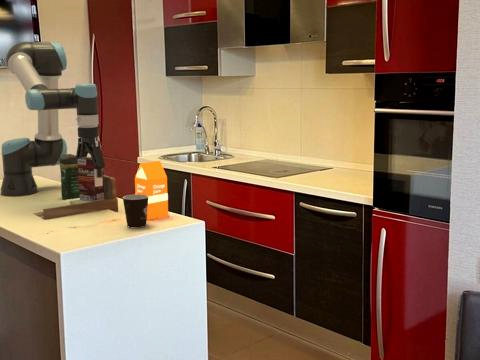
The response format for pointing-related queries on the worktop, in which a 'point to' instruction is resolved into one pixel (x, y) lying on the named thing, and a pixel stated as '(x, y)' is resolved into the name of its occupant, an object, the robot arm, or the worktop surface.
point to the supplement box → (88, 181)
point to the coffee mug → (136, 209)
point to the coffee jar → (69, 177)
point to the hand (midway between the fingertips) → (90, 183)
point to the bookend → (78, 202)
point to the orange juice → (153, 188)
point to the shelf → (107, 203)
